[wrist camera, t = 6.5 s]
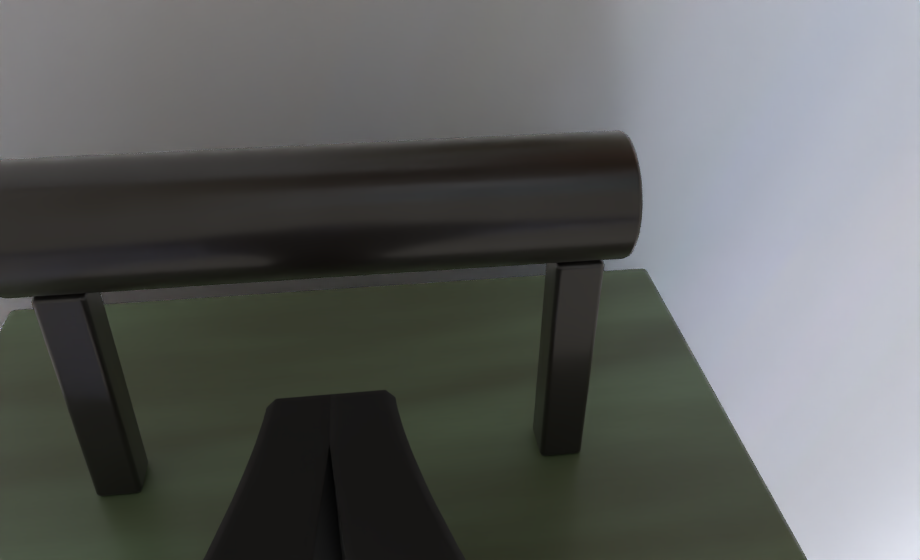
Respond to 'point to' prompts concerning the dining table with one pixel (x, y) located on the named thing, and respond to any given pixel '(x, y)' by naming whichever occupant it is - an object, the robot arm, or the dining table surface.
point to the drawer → (359, 348)
